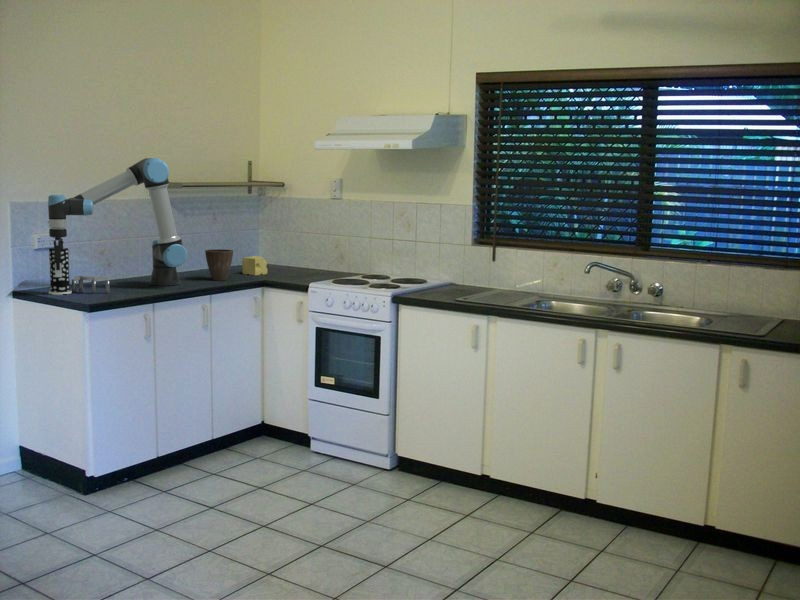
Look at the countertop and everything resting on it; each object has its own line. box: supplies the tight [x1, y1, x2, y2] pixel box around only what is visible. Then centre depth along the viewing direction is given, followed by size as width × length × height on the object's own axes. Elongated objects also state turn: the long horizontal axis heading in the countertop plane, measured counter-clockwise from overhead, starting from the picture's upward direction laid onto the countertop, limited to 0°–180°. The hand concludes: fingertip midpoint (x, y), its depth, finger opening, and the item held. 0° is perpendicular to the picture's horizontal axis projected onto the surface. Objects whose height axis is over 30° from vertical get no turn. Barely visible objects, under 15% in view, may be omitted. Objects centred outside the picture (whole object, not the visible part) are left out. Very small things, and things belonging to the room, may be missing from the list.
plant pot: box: [204, 248, 234, 282], centre depth 450 cm, size 15×15×16 cm
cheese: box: [241, 255, 268, 276], centre depth 479 cm, size 10×11×10 cm
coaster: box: [48, 289, 72, 296], centre depth 390 cm, size 10×10×1 cm
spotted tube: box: [48, 247, 71, 292], centre depth 389 cm, size 8×8×20 cm
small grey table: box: [71, 275, 111, 294], centre depth 393 cm, size 17×6×8 cm, turn 107°
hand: (59, 275), depth 389 cm, fingers open, 11 cm apart
